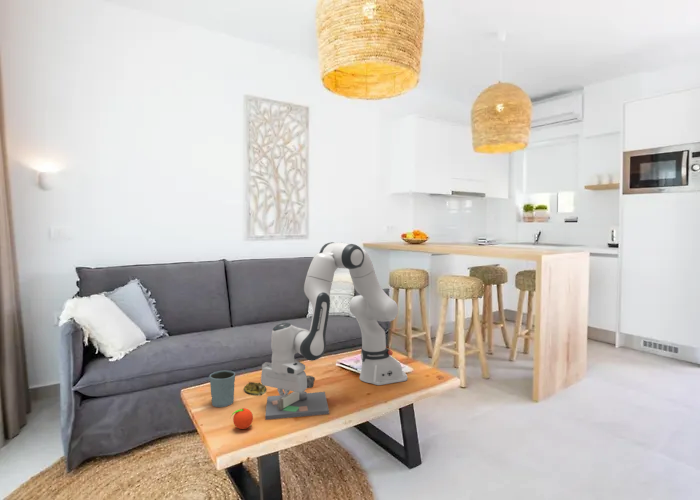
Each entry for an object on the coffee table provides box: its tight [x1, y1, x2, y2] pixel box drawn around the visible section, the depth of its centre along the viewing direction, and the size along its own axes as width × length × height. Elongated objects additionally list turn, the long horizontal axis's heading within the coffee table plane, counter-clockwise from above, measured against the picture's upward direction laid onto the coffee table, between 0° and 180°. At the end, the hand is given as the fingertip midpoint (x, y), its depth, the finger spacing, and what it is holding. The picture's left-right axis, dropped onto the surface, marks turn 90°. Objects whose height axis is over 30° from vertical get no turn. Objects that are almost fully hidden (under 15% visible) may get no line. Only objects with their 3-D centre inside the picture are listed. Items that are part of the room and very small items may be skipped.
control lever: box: [277, 390, 308, 410], centre depth 163 cm, size 15×4×4 cm, turn 145°
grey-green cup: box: [209, 369, 236, 408], centre depth 169 cm, size 10×10×12 cm
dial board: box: [264, 391, 330, 421], centre depth 164 cm, size 24×18×2 cm
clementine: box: [229, 407, 254, 430], centre depth 147 cm, size 8×7×7 cm
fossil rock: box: [306, 375, 316, 389], centre depth 188 cm, size 19×4×15 cm
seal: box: [243, 381, 268, 397], centre depth 182 cm, size 9×5×15 cm
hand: (283, 399), depth 162 cm, fingers closed
